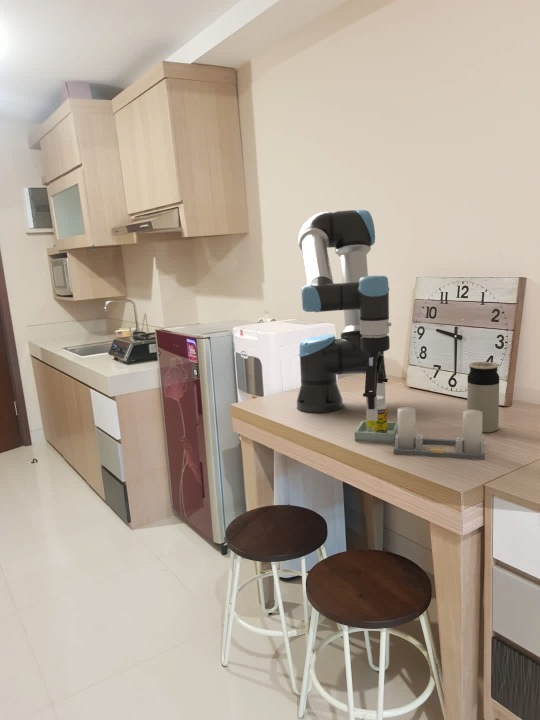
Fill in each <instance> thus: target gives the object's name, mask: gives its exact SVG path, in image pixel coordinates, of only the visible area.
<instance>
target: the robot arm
mask: <svg viewBox="0 0 540 720" xmlns="http://www.w3.org/2000/svg"><path fill="white" fill-rule="evenodd" d="M375 243H376V231H375V224H374V220H373V217H372V215H371V213H370V211H368V210H366V209H353V210H352V209H351V210H337V211H322V212H319V213H317V214H314V215H313V216H311V217H310V218H309V219H308V220H306V222H305V223H304V224H303V225H302V227H301V229H300V231H299V235H298V246H299V249H300V250H301V252H302V253H303V254H302V255H303V262H304V270H305V278H306V285H303V286H301V306H302V308H301V309H302V310H303V311H304V312H306V313H309V312H310V313H313V312H314V313H321V312H323V313H324V312H335V311H343V315H344V316H343V317H344V318H343V319H344V329H343V330H342V332H341V333H340V338H336V335H334V334H320V335H315V336H309V337H307V338H306V339H303V340H301V342H300V343H299V354H298V355H299V363H300V364H299V365H300V367H299V368H300V387H299V391H298V393H297V399H296V408H297V409H298V410H299V411H302V412H306V413H307V412H308V413H329V412H330V413H331V412H334V411H338V410H340V409H341V408H343V404H344V403H343V400H344V399H343V396H342V393H341V391H340V389H339V386H338V382H337V375H339V376H340V375H354V374H355V375H358V374H365V384H364V393H362V396H363V397H364V398H365V399H366V403H365V406H366V407H367V421H378V408H377V396H383V397H384V403H385V404H386V384H385V383H388V382H389V381H388V378H387V373H386V364H385V356H384V355H385V353H384V352H387V351H389V350H390V347H391V346H390V345H391V344H390V336H389V333H390V327H391V326H392V322H389V321H390V302H389V301H390V300H389V298H390V292H389V291H390V286H389V278H388V277H387V276H385V275H369V273H368V261H367V259H368V258H367V255H368V254H369V252H370V251H371V249H372V248H371V246H373V245H374V244H375ZM328 248H329V249H330V248H334V249H335V251H334V253H335V254H336V255H337V256H338V257H339V258H340V269H341V270H340V273H341V283H340V282H339V283H334V280H333V274H332V269H331V263H330V257H329V251H328ZM366 407H365V408H366Z"/></svg>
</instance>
